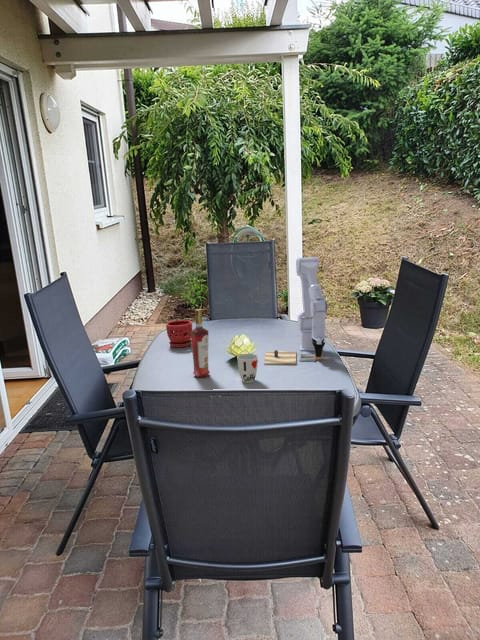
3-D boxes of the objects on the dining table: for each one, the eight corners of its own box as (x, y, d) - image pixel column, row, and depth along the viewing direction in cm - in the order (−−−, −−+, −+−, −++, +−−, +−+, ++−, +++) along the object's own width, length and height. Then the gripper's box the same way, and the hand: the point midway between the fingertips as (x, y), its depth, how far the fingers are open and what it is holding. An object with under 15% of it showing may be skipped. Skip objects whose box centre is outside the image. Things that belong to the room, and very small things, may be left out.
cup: (241, 385, 186) (240, 360, 184) (235, 378, 193) (235, 354, 191) (260, 382, 188) (260, 358, 186) (254, 376, 195) (254, 352, 193)
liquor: (201, 371, 203) (198, 307, 196) (214, 374, 198) (211, 309, 192) (189, 376, 197) (185, 310, 191) (201, 379, 193) (198, 312, 186)
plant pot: (195, 341, 249) (194, 319, 247) (190, 348, 237) (188, 325, 234) (170, 341, 251) (169, 319, 248) (164, 348, 238) (163, 325, 235)
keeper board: (266, 352, 227) (266, 344, 226) (296, 352, 225) (296, 344, 224) (263, 364, 209) (263, 356, 208) (295, 364, 208) (295, 356, 207)
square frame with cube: (321, 356, 218) (321, 346, 217) (321, 361, 212) (322, 350, 210) (299, 356, 220) (299, 345, 218) (299, 361, 213) (299, 350, 212)
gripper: (328, 330, 204) (328, 360, 207) (326, 322, 218) (326, 350, 221) (312, 330, 205) (311, 360, 208) (311, 322, 219) (310, 350, 222)
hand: (318, 355), depth 215 cm, fingers open, 4 cm apart
